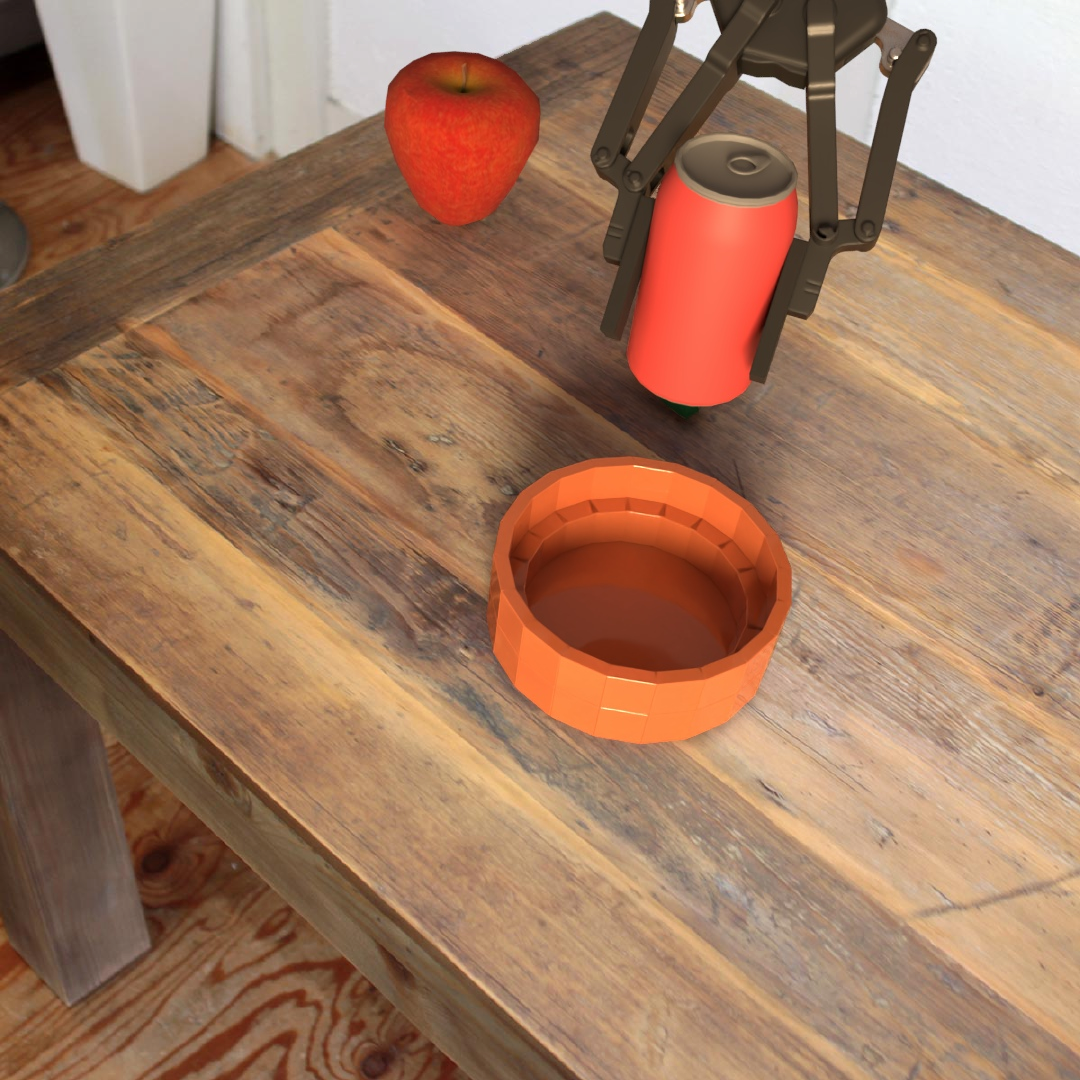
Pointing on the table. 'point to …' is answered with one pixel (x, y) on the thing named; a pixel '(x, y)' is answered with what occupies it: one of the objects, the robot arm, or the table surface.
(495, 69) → the apple
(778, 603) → the bowl
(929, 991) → the table surface
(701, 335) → the beer can
